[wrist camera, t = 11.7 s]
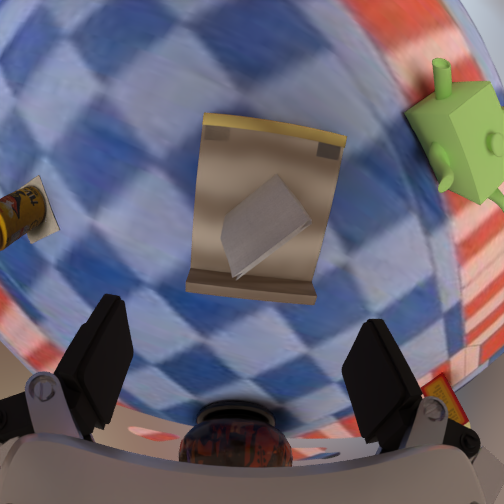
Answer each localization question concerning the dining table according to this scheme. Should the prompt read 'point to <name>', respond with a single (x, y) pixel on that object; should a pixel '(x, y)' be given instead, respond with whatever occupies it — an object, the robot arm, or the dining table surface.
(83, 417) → the robot arm
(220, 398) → the dining table surface
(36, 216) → the condiment
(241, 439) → the amphora vase
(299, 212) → the small white carton
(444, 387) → the baking soda box
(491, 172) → the kettle
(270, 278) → the dock
